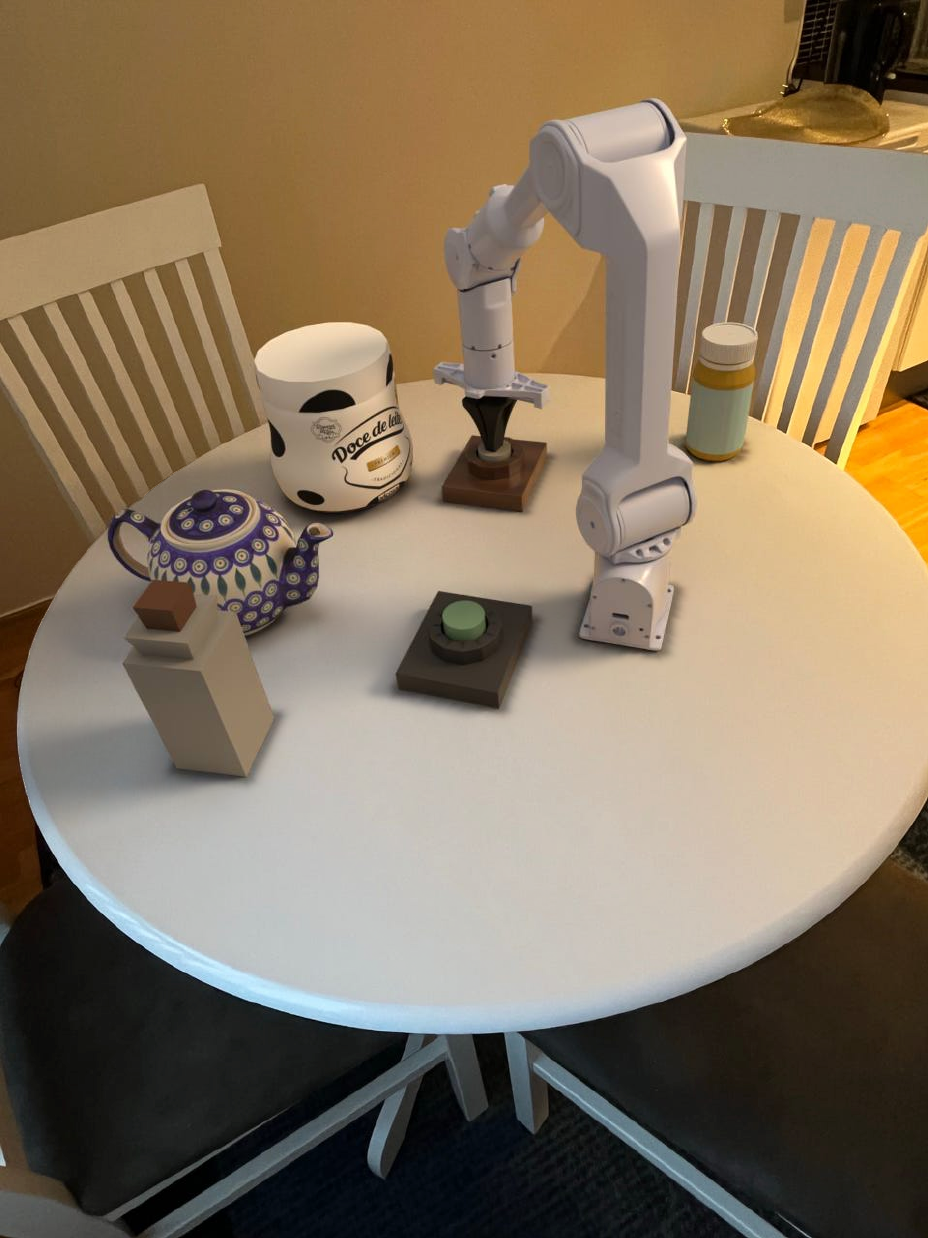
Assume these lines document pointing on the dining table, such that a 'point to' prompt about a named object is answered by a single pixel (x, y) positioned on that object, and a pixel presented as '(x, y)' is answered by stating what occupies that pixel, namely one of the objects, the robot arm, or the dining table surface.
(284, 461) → the doce de leite jar
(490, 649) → the push button front
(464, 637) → the green button cap
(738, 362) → the bottle
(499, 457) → the grey button cap
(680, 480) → the robot arm
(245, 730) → the perfume bottle
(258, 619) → the teapot
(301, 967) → the dining table surface
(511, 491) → the push button back
